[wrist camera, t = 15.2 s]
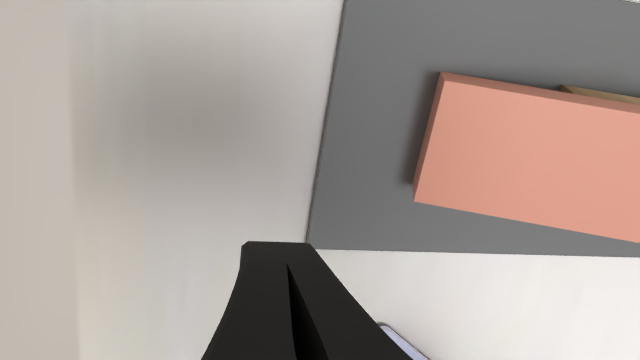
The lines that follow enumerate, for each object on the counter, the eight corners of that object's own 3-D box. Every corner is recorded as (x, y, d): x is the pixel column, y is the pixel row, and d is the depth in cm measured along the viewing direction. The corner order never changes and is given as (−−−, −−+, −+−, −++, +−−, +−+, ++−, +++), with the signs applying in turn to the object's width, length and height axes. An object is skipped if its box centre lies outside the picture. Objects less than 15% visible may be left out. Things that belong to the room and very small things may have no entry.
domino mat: (305, 243, 22) (307, 248, 22) (351, -44, 17) (354, -43, 17) (778, 257, 28) (786, 261, 28) (919, 48, 23) (930, 50, 23)
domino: (413, 201, 20) (639, 243, 19) (445, 80, 18) (699, 124, 17) (412, 184, 21) (621, 222, 21) (440, 71, 19) (674, 111, 19)
